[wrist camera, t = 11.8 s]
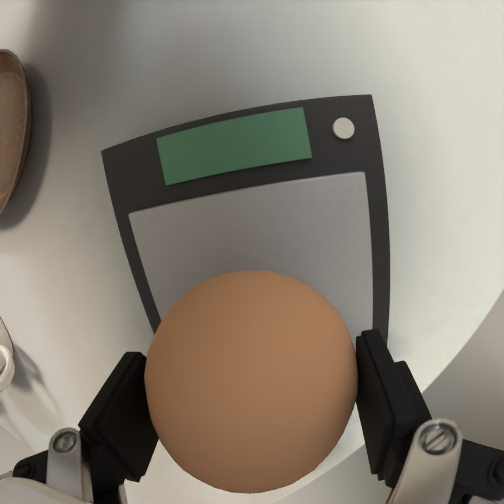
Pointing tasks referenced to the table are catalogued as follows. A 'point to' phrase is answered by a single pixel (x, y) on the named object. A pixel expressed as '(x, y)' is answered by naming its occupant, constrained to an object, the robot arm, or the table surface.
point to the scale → (260, 204)
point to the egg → (251, 381)
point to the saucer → (12, 123)
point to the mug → (5, 358)
